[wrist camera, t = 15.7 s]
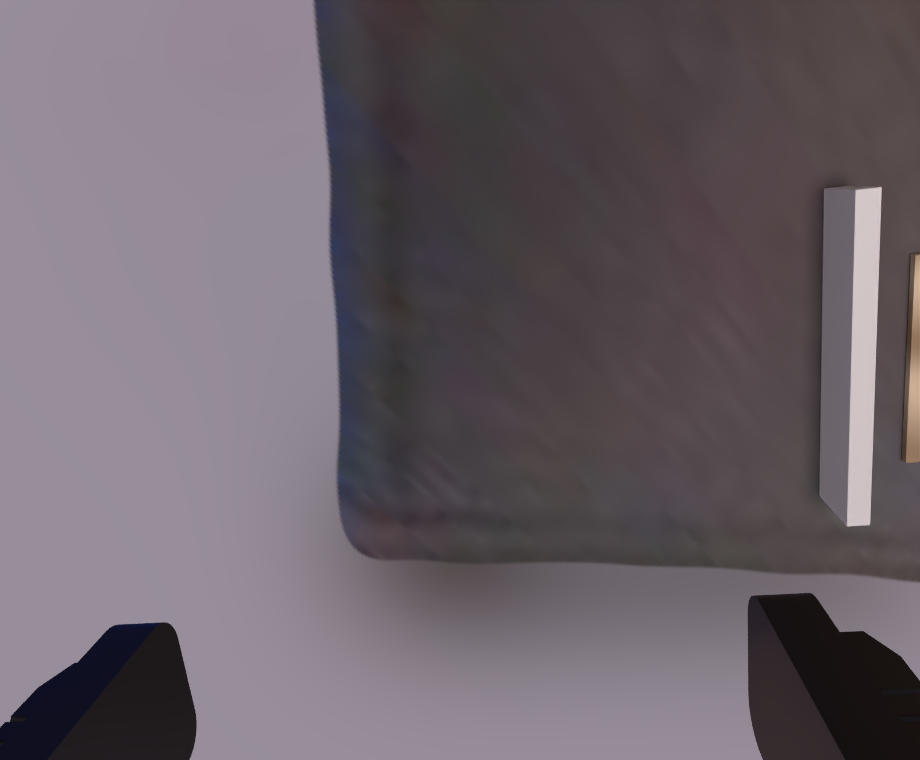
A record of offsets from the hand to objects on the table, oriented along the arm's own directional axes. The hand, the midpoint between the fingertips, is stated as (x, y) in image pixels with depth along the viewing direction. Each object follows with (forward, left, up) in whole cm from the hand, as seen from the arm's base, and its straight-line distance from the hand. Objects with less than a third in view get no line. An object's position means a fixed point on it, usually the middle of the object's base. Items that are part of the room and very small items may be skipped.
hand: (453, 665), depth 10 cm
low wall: (+5, +18, -34) cm, 39 cm away
